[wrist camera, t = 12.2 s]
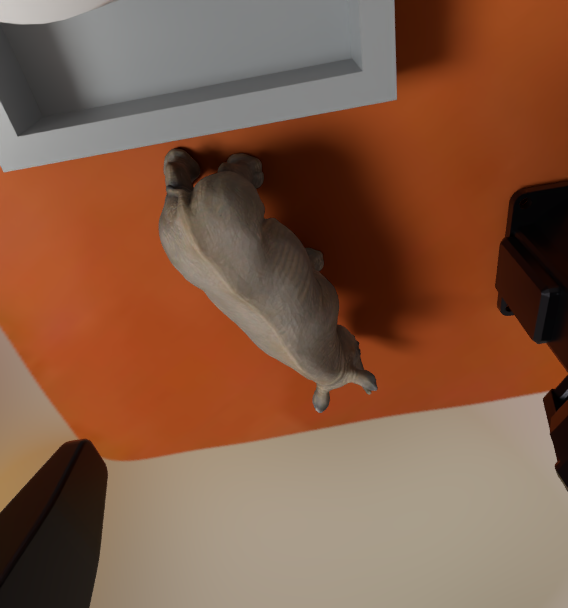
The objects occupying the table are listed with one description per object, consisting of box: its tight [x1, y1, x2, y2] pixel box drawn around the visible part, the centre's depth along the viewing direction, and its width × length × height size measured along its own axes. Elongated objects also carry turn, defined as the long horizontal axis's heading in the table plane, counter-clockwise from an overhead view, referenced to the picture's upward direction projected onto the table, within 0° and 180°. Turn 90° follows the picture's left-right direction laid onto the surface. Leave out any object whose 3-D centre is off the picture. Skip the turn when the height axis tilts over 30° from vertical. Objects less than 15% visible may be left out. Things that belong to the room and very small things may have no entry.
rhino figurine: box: [159, 149, 377, 413], centre depth 20 cm, size 4×14×6 cm, turn 34°
